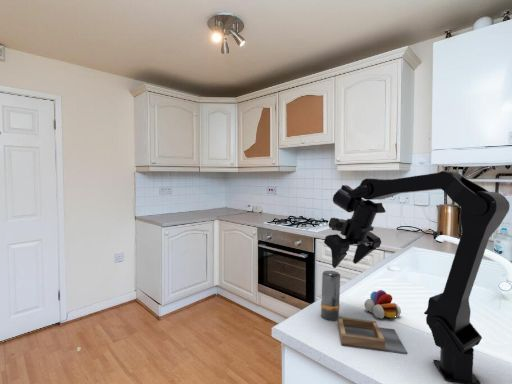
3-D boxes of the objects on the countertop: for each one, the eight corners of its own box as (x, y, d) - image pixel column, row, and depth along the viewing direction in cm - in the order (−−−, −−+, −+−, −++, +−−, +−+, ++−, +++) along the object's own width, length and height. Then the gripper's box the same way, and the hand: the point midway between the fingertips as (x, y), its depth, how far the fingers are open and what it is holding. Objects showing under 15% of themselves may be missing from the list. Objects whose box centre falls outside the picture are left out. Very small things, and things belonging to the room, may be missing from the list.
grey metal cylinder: (339, 321, 82) (341, 276, 81) (320, 319, 83) (322, 275, 82) (338, 313, 87) (339, 271, 86) (320, 311, 88) (321, 269, 87)
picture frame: (407, 354, 67) (407, 343, 67) (341, 345, 70) (341, 335, 70) (394, 330, 77) (394, 321, 77) (337, 323, 80) (338, 315, 80)
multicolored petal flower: (381, 323, 82) (382, 298, 81) (360, 308, 91) (361, 286, 91) (405, 320, 84) (406, 296, 84) (382, 306, 93) (383, 284, 93)
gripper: (361, 206, 92) (345, 247, 97) (319, 208, 82) (304, 253, 87) (390, 223, 83) (371, 267, 88) (347, 227, 73) (329, 276, 78)
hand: (344, 265), depth 86 cm, fingers open, 9 cm apart
